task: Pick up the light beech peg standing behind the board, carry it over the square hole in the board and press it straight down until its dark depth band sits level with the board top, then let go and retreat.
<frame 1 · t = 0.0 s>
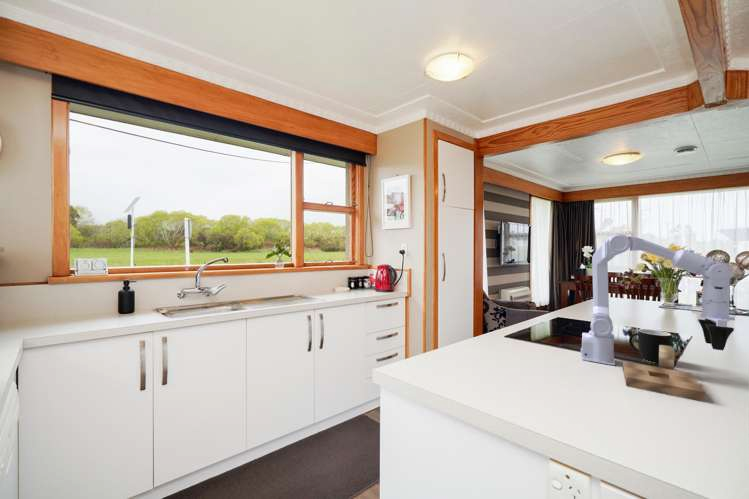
hand: (714, 346, 99), 10 cm above the counter, tool pointing down, fingers open, 7 cm apart
board: (659, 383, 96), on the counter
mug: (648, 360, 117), on the counter
peg: (666, 373, 104), on the counter
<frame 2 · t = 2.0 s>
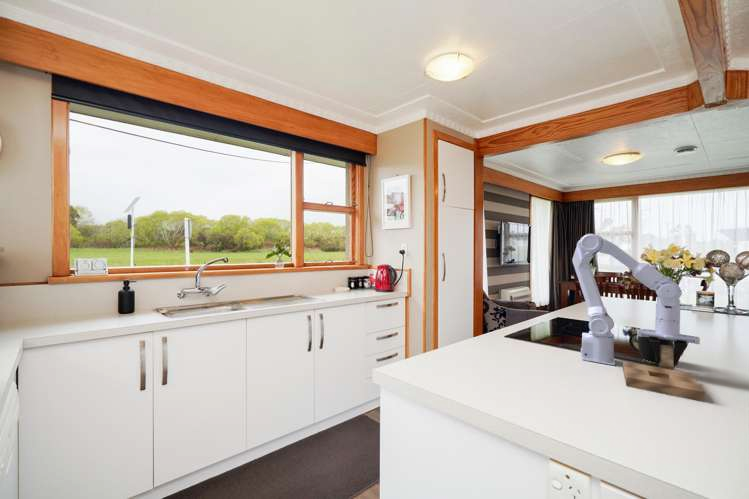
hand: (666, 362, 104), 3 cm above the counter, tool pointing down, fingers closed on peg, 4 cm apart
peg: (666, 373, 104), on the counter, touching gripper
everything else where it was.
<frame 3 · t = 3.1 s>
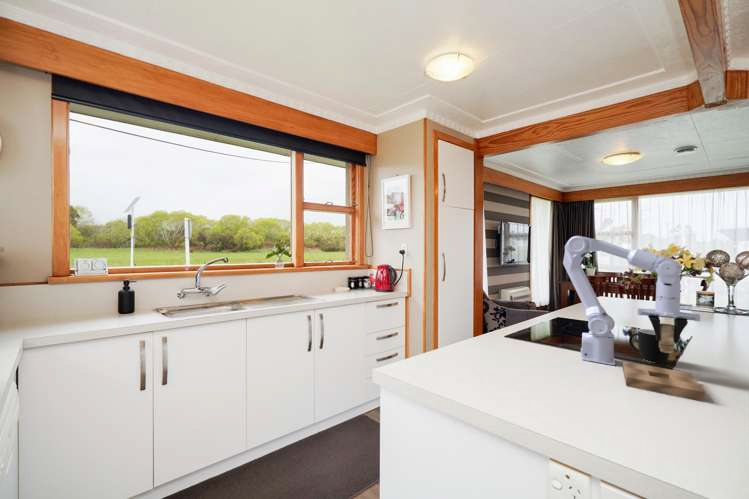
hand: (666, 340, 103), 10 cm above the counter, tool pointing down, fingers closed on peg, 4 cm apart
peg: (666, 351, 103), point 7 cm above the counter, touching gripper
everything else where it was.
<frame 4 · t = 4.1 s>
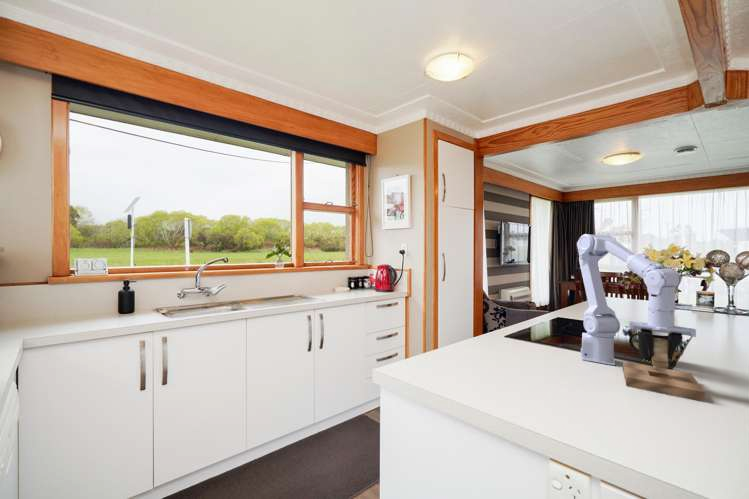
hand: (660, 357, 95), 8 cm above the counter, tool pointing down, fingers closed on peg, 4 cm apart
peg: (659, 369, 95), point 4 cm above the counter, touching gripper
everything else where it was.
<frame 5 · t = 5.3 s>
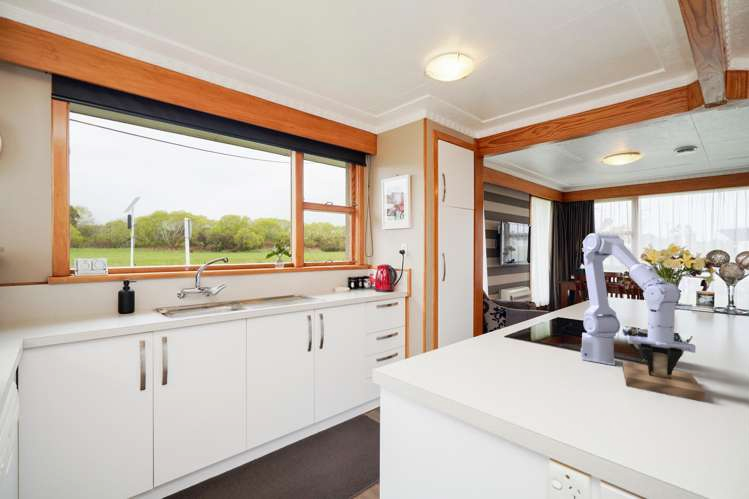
hand: (659, 372, 95), 3 cm above the counter, tool pointing down, fingers closed on peg, 4 cm apart
peg: (659, 383, 96), resting in board, touching gripper
everything else where it was.
when the fingers open (3 cm above the counter, at t = 6.1 s): peg stays where it is, resting in board.
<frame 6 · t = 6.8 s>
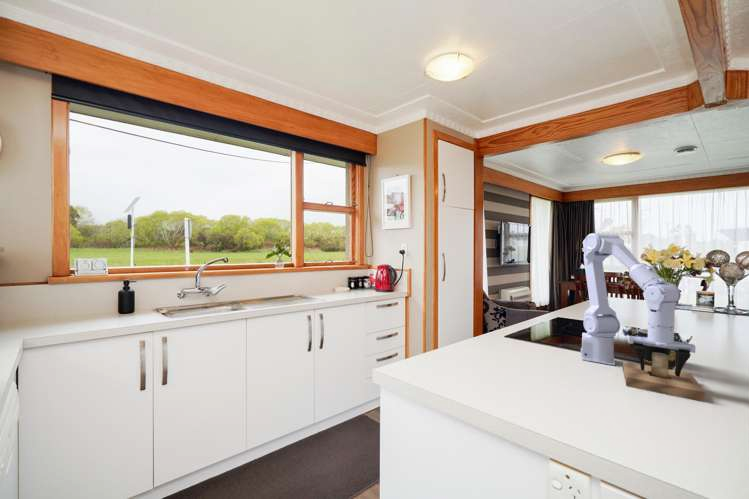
hand: (659, 372, 95), 3 cm above the counter, tool pointing down, fingers open, 7 cm apart
peg: (659, 383, 96), resting in board
everything else where it was.
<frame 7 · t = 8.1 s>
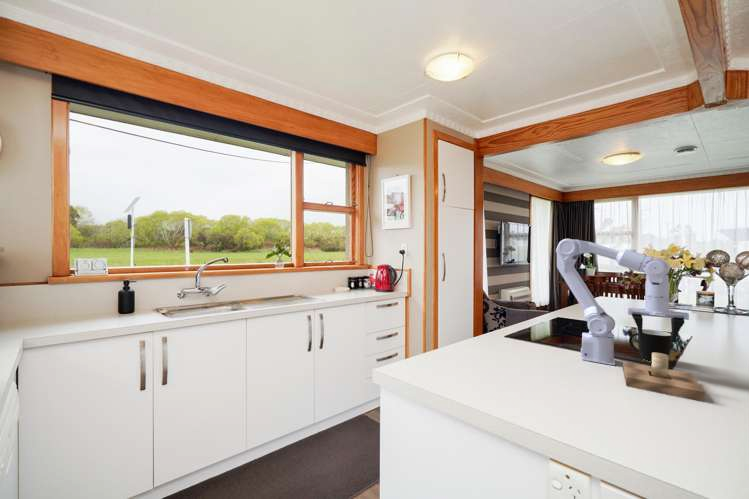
hand: (656, 339, 104), 10 cm above the counter, tool pointing down, fingers open, 7 cm apart
nothing on the counter moved.
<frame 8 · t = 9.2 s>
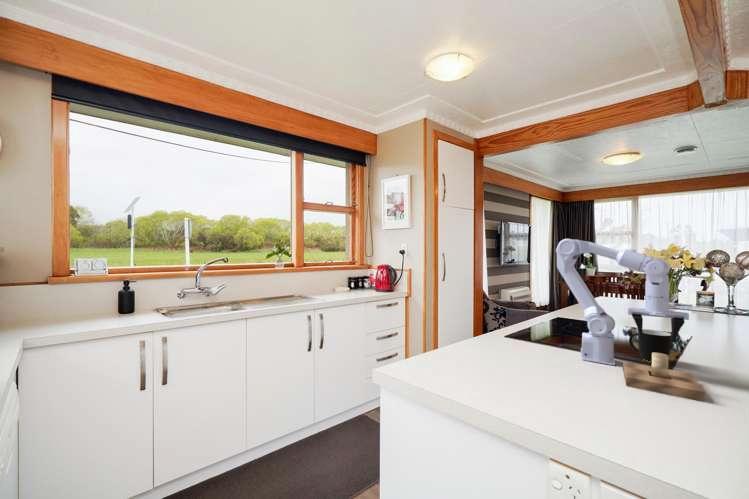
hand: (656, 339, 104), 10 cm above the counter, tool pointing down, fingers open, 7 cm apart
nothing on the counter moved.
at the end: peg 0.1 cm off-centre on the board, point 0.0 cm above the board's base; peg tilted 0°; the gripper is holding nothing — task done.
